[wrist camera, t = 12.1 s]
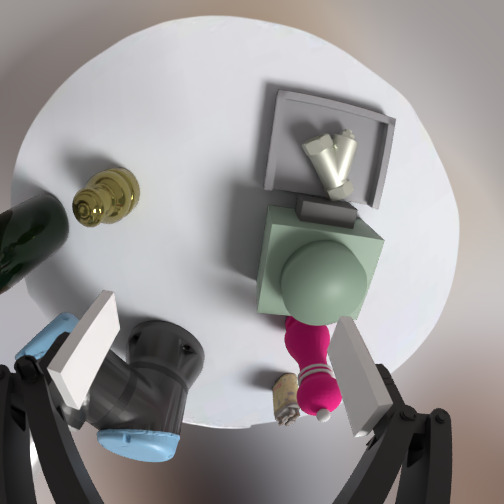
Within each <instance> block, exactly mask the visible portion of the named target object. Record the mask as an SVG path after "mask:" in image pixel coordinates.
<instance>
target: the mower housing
mask: <svg viewBox="0 0 504 504" xmlns="http://www.w3.org/2000/svg"><path fill="white" fill-rule="evenodd" d="M357 211H358V210H357V209H356V208H354V207H353V206H352V205H351V204H350V203H348V202H345V201H339V200H338V201H330V200H329V199H327V198H322V197H317V196H310V195H304V194H298V198H297V204H296V209H292V208H285V207H278V206H271V205H268V211H267V218H266V224H265V231H264V237H263V244H262V250H261V257H260V263H259V269H258V276H257V313H266V314H277V315H288V316H292V317H294V318H295V319H296V320H298V321H300V322H302V323H305V324H308V325H315V326H322V325H329V324H332V323H336V322H338V320H339V317H340V316H348V317H352V319H353V320H357V318H358V315H359V313H360V310H361V308H362V305H363V302H364V300H365V297H366V294H367V292H368V289H369V286H370V283H371V281H372V278H373V275H374V272H375V269H376V266H377V263H378V260H379V257H380V254H381V250H382V247H383V244H384V241H385V240H384V239H383V238H381V237H380V236H379V235H378V234H377V233H376V232H375V231H374V230H373V229H372V228H371V227H370V226H369V225H367V224H366V223H365V222H364V221H363V220H361V219H356V216H357Z"/></svg>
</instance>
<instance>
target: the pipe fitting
mask: <svg viewBox="0 0 504 504" xmlns="http://www.w3.org/2000/svg"><path fill="white" fill-rule="evenodd" d="M354 138H355V136H354V135H353V134H352V131H351V130H349V129H345V131H341V132H340V135H339V134H334V136H333V139H331V137H330V135H329V134H327V133H325V134H321V135H319V136H316V137H314V138H312V139H310V140H308V141H306V142H304V143H303V144H302V145H301V146H302V148H303V150H304V152H305V153H306V155H307V156H309V158H310V160H311V162H312V164H313V166H314V168H315V170H316V172H317V174H318V176H319V178H320V180H321V182H322V184H323V187H324V189H323V190H324V192H325V195H326V197H327V199H329V200H330V201H338V200H341V199H344V198H346V197H347V196H349V195H350V194H351V193H352V192H353V190H354V188H353V186H352V183H351V181H350V180H349V179H347V177H348V174H349V171H350V168H351V165H352V162H353V159H354V156H355V153H356V149H357V146H358V142H357V141H355V140H354Z"/></svg>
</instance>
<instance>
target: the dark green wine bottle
mask: <svg viewBox="0 0 504 504" xmlns="http://www.w3.org/2000/svg"><path fill="white" fill-rule="evenodd" d="M68 233H69V223H68V218H67V214H66V212H65V210H64V208H63V206H62V205H61V203H60V202H59V201H58V200H57V199H56V198H55V197H53V196H51V195H48V194H41V195H38V196H35V197H33V198H31V199H28V200H26V201H24V202H22V203H20V204H18V205H16V206H14V207H13V208H11V209H9V210H7V211H5V212H3V213H2V214H0V294H2V293H4V292H6V291H7V290H8V289H10V288H11V287H13V286H14V285H15V284H16V283H18V282H19V281H20V280H22V279H23V278H24V277H25V276H26V275H28V274H29V273H30V272H31V271H33V270H34V269H35V268H36V267H38V266H39V265H40V264H42V263H43V262H44V261H45V260H47V259H48V258H49V257H51V256H52V255H53V254H54V253H56V252H57V251H58V250H59V249H60V248H62V247H63V246H64V244H65V243H66V241H67V238H68Z"/></svg>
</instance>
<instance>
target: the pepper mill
mask: <svg viewBox="0 0 504 504" xmlns="http://www.w3.org/2000/svg"><path fill="white" fill-rule="evenodd" d="M285 326H286V334H285V345H286V348H287V350H288V352H289V354H290V355H291V356H292V357H293V358H294V359H295V360H296V361H297V363H298V364H299V368H300V373H299V374H298V378H297V379H298V385H299V388H298V390H297V395H296V399H297V403H298V405H299V407H300V408H301V410H302V411H304V412H305V413H307V414H309V415H315V416H316V417H317V419H318V420H319V421H320V422H325V421H328V420H329V419H330V416H331V413H330V412H332V411H333V410H334V409H336V408H337V407H338V406H339V404H340V402H341V399H342V396H341V392H340V389H339V386H338V383H337V380H336V379H335V377H334V374H333V369H332V368H331V367H330V366H328V365H327V361H326V356H327V349H328V346H329V344H330V335H329V330H328V328H327V326H326V325H322V326H315V325H308V324H305V323H302V322H300V321H298V320H296V319H295V318H294V317H292V316H288V317H287V319H286V322H285Z"/></svg>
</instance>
